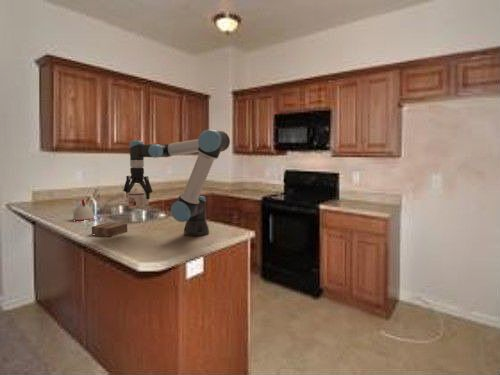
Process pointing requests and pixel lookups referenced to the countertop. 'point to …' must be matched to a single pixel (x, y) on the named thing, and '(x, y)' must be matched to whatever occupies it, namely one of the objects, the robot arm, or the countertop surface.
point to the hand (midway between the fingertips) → (138, 204)
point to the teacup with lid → (136, 199)
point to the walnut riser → (109, 229)
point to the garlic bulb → (83, 212)
